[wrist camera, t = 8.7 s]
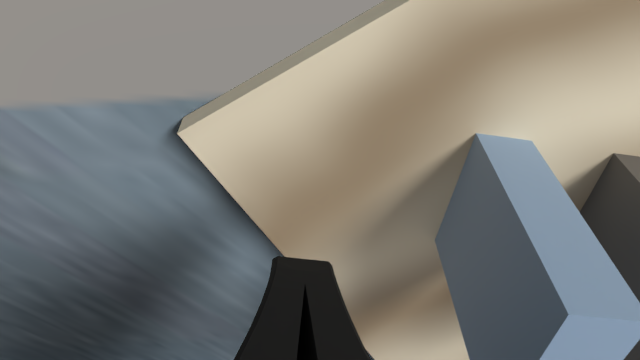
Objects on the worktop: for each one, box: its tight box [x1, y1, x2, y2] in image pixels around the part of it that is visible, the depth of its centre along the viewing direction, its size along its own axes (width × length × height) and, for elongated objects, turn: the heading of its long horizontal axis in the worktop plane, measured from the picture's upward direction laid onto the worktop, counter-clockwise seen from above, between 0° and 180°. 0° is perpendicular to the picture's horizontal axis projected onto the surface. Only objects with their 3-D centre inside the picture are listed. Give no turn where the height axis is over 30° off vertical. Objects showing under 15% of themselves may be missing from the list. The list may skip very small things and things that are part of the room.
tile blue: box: [435, 133, 640, 360], centre depth 15 cm, size 2×4×7 cm, turn 171°
